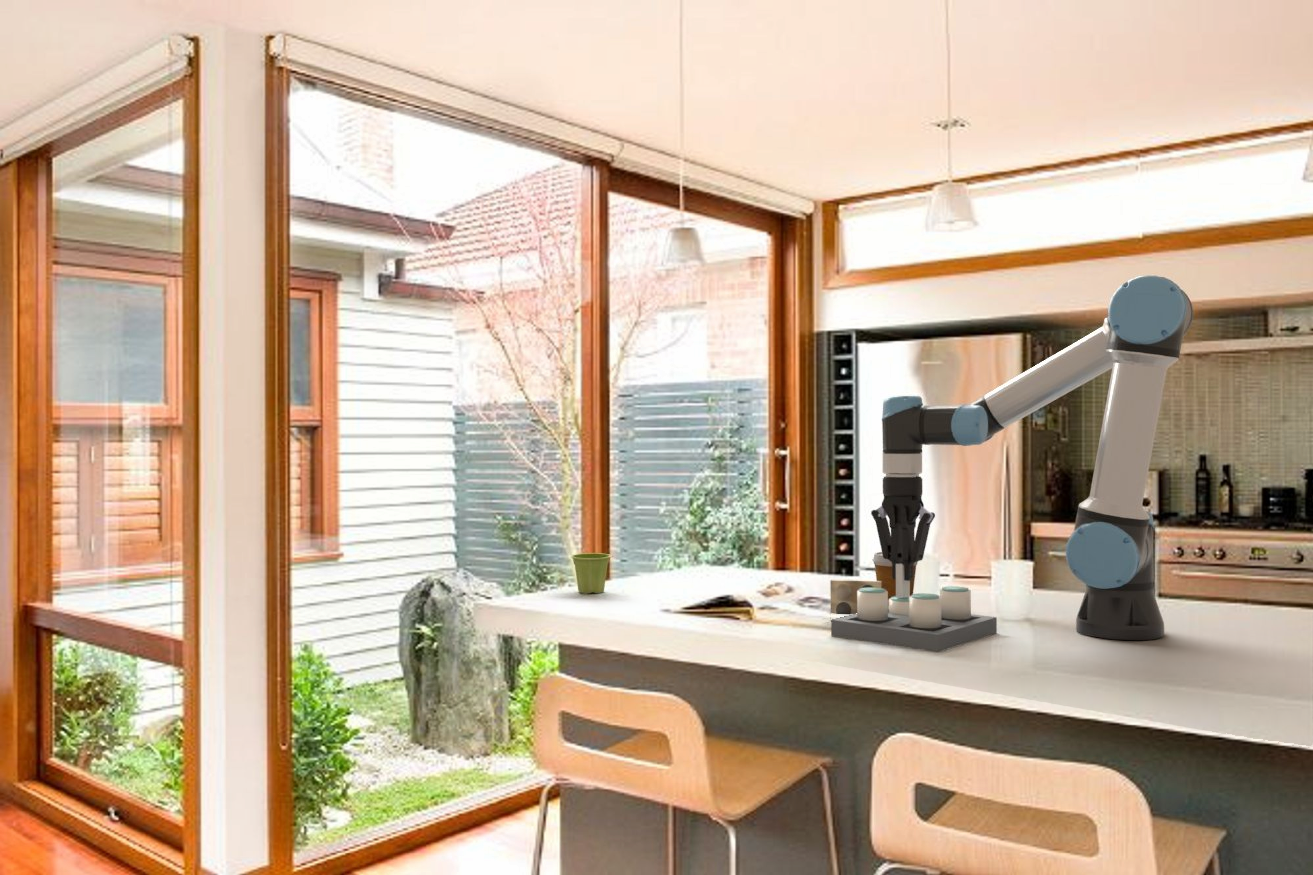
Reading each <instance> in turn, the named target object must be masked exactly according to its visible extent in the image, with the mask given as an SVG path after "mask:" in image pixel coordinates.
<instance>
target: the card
mask: <svg viewBox="0 0 1313 875" xmlns="http://www.w3.org/2000/svg"><path fill="white" fill-rule="evenodd" d="M829 581H830V614H831V613H836V614H856V613H857V591H858V590H859V589H860V588H870V587H872V588H881V581H877V580H851V579H850V580H849V579H848V580H847V579H846V580H845V579H830V580H829Z"/></svg>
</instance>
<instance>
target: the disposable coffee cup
mask: <svg viewBox="0 0 1313 875" xmlns="http://www.w3.org/2000/svg"><path fill="white" fill-rule="evenodd" d="M871 560H872V562H873V564H874V572H875V578H876V580H875V581H881V588H883V589H885V590H886V591H888V606H889V599H890V598H891V597H894V596H896V579H893V577H892V562H891V561H890V560H888V559H884V558H883V555H882V551H877V552H874V554H873V558H872V559H871ZM918 562H919V561H917V562H915V563H914V564H913V580H910V596H911V595H912V594H914V589H915V579H916V571H917V570H916V569H917V565H918Z"/></svg>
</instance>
